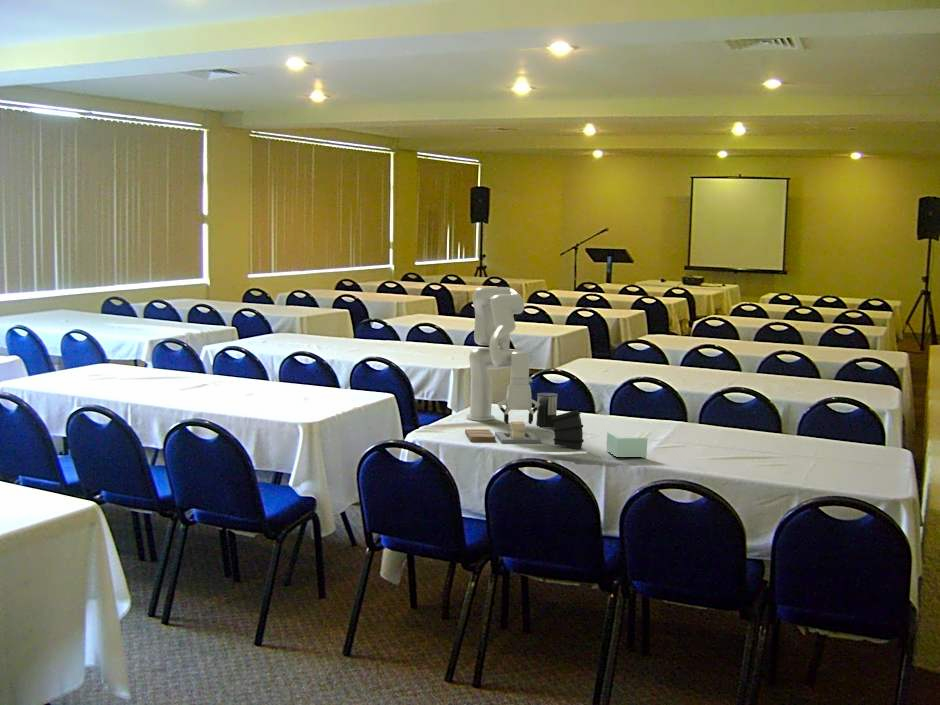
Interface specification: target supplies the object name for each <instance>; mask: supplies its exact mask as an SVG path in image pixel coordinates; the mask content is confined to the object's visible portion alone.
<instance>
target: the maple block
mask: <svg viewBox="0 0 940 705" xmlns="http://www.w3.org/2000/svg"><path fill="white" fill-rule="evenodd" d="M509 429H510V431H509V432H510V437H509V438H526V436H525V432H526V423H525V422H524V421H512V420H511V421H510V428H509Z"/></svg>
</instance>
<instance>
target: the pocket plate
mask: <svg viewBox="0 0 940 705" xmlns="http://www.w3.org/2000/svg"><path fill="white" fill-rule="evenodd" d="M494 436H495V438H496V437H497V438H496V439H497V440H498V442H500V444H541V443H542V440H541V438H540V437H539V436H538V435H536V434H535V433H534V432H533V431H525V438H510V437H506V436H510V431H494Z"/></svg>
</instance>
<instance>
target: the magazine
mask: <svg viewBox="0 0 940 705" xmlns="http://www.w3.org/2000/svg"><path fill="white" fill-rule="evenodd" d="M581 414H582V413H581V412H579V409H575V410H573V411H569V412H568V411H567V412H564V413H562V414H558V415H557V414H556V416H554V417H551V418H552V420H551V422H553V424H554V427H553V429H554V430H553V433H554V438H552V440H553V441H554V442H553V444H554V445H555V446H556V445H557V446H560V447H566V448H570V449H574V450H575V449H576V450H581V449H582V448H583V443H584V442H585V439H583V433H584V432H583V428H584V424H582V418H581Z"/></svg>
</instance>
